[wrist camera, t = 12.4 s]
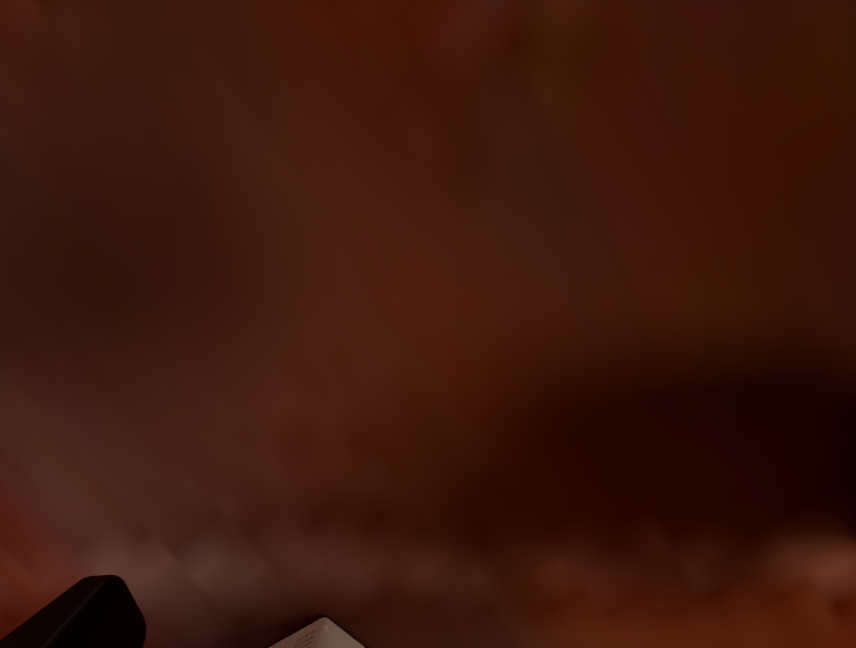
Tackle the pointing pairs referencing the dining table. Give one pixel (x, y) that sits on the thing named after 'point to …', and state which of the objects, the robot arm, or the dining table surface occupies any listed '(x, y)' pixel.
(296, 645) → the coffee box
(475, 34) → the dining table surface
